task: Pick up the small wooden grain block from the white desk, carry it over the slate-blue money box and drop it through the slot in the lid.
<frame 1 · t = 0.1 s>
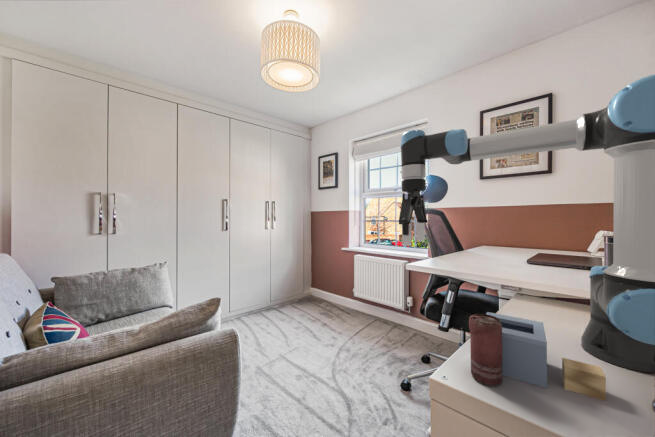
hand: (414, 243, 85), 28 cm above the table, fingers open, 13 cm apart
can: (485, 379, 58), on the table
wooden grain block: (582, 389, 54), on the table
coin box: (513, 365, 63), on the table
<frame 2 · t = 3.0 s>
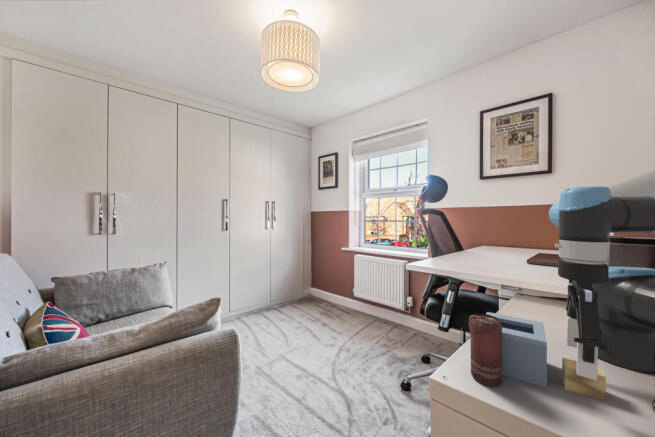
hand: (580, 360, 54), 6 cm above the table, fingers open, 13 cm apart
nothing on the table moved.
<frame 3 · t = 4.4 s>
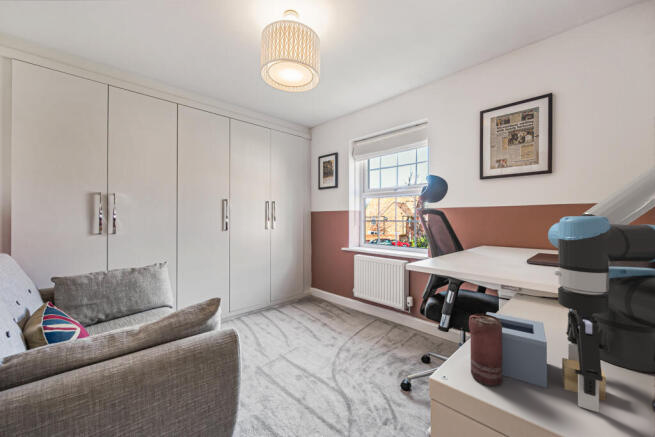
hand: (581, 388, 54), 0 cm above the table, fingers open, 13 cm apart
nothing on the table moved.
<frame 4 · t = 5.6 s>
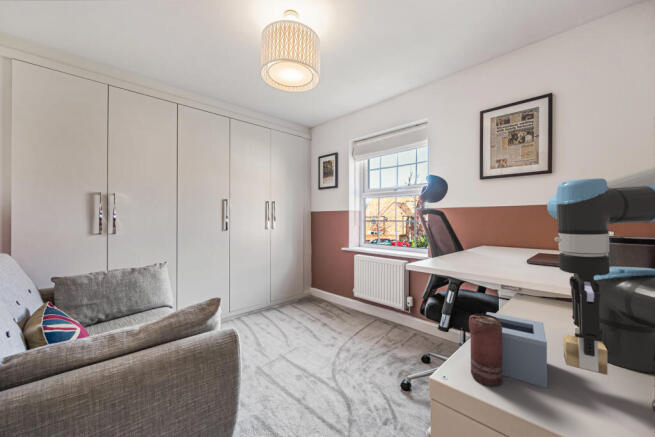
hand: (586, 362, 54), 6 cm above the table, fingers closed on wooden grain block, 4 cm apart
wooden grain block: (584, 364, 54), point 5 cm above the table, touching gripper
everything else where it was.
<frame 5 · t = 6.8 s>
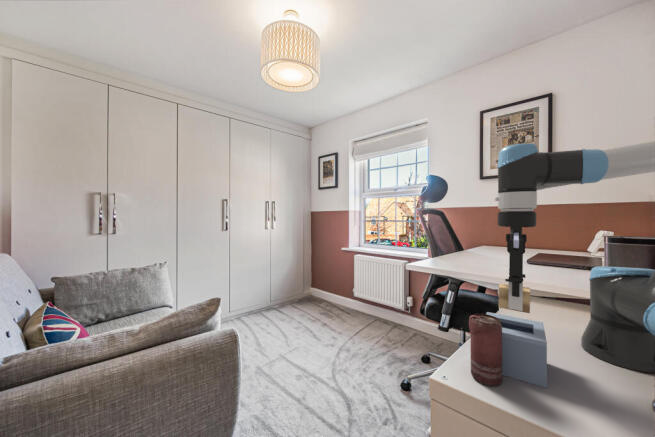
hand: (515, 306, 62), 15 cm above the table, fingers closed on wooden grain block, 4 cm apart
wooden grain block: (513, 307, 62), point 14 cm above the table, touching gripper
everything else where it was.
when the fingers open (11 cm above the table, at t = 8.2 s): wooden grain block drops 10 cm, resting on coin box.
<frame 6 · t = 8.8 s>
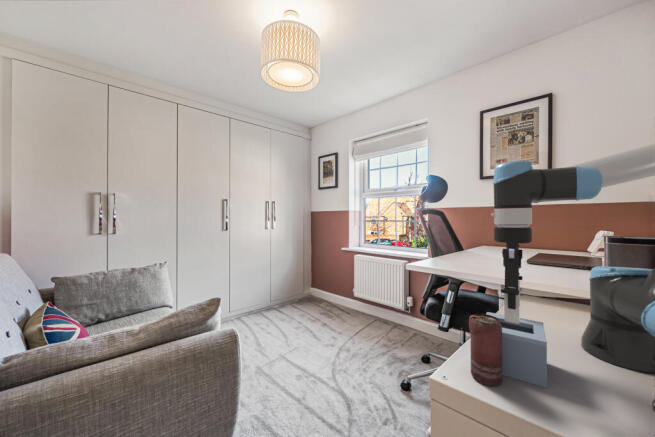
hand: (512, 312, 63), 13 cm above the table, fingers open, 13 cm apart
wooden grain block: (511, 362, 63), point 1 cm above the table, touching coin box
everything else where it was.
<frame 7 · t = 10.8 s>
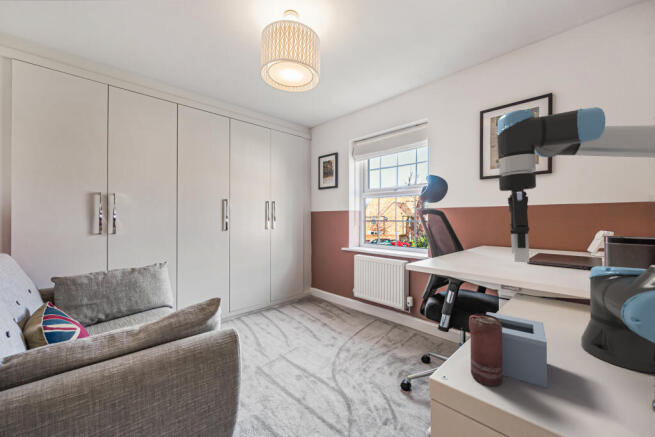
hand: (519, 257, 65), 26 cm above the table, fingers open, 13 cm apart
nothing on the table moved.
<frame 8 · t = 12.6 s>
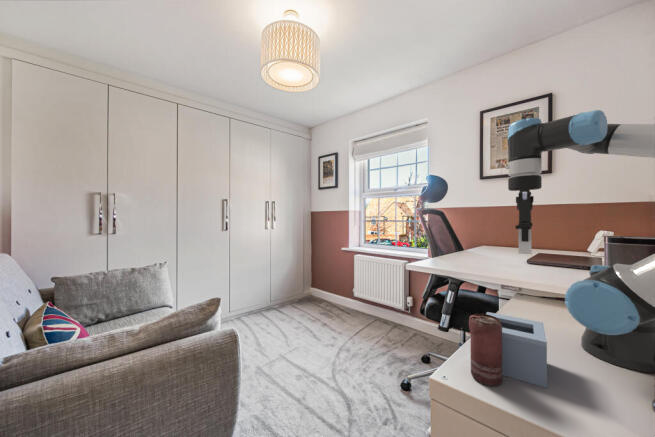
hand: (524, 250, 73), 27 cm above the table, fingers open, 13 cm apart
nothing on the table moved.
at the end: wooden grain block inside the target area on the coin box (0.3 cm from its centre), point 0.6 cm above the coin box's base; the gripper is holding nothing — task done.
